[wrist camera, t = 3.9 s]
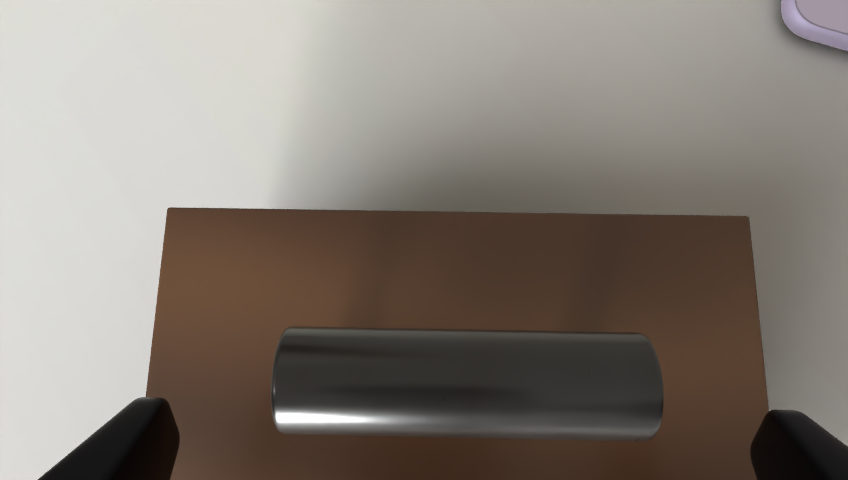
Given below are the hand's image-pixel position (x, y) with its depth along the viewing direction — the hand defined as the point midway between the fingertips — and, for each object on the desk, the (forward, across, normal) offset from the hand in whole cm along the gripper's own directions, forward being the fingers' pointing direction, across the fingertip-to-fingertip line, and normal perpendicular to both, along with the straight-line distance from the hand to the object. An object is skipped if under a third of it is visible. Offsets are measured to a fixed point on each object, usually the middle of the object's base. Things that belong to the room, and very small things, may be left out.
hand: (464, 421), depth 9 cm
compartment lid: (+2, 0, +3) cm, 4 cm away
